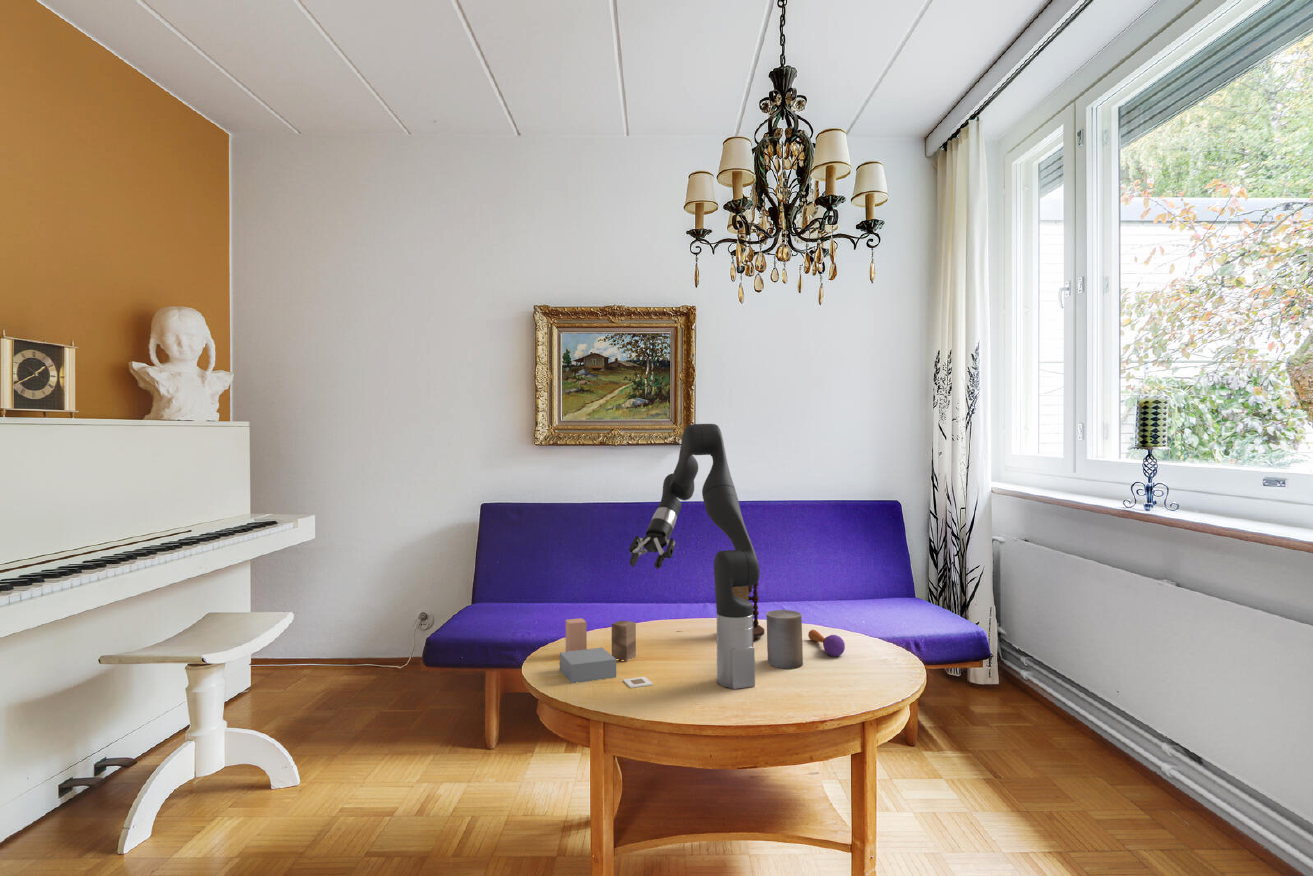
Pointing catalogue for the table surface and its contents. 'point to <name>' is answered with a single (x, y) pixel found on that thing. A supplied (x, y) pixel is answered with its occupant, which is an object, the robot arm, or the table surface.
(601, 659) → the slate slab
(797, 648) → the pillar candle
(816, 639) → the purple maraca
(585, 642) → the terracotta block
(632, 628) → the walnut block
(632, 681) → the card
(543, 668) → the table surface
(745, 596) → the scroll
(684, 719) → the table surface
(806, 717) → the table surface
